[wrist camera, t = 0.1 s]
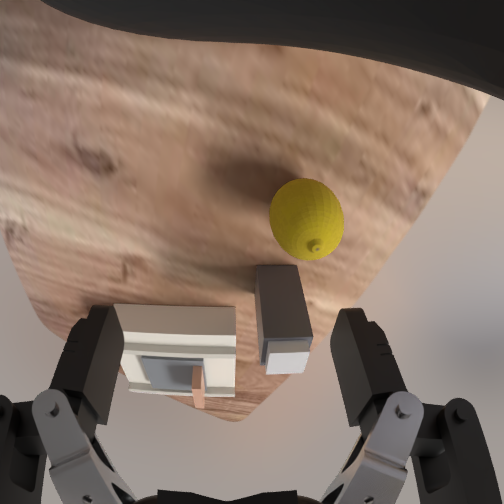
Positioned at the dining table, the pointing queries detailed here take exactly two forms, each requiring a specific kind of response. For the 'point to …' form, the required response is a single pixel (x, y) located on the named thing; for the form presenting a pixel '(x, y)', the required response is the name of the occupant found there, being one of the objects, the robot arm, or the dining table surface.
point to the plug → (282, 319)
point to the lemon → (306, 219)
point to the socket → (179, 343)
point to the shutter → (177, 375)
